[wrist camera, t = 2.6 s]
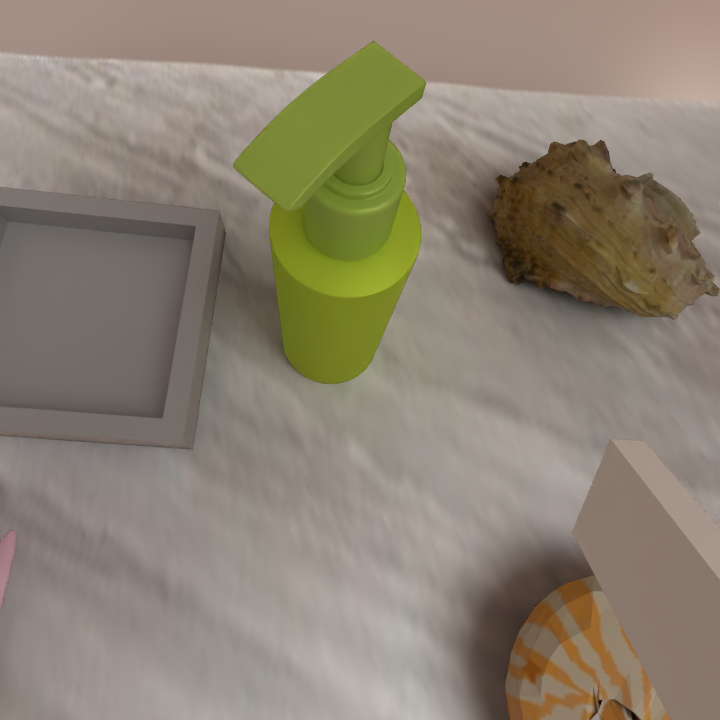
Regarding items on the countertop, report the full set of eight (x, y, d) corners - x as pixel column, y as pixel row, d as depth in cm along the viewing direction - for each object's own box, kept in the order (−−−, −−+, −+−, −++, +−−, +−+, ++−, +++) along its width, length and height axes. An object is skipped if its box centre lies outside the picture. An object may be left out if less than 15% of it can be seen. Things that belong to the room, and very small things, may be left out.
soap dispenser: (250, 352, 31) (168, 101, 12) (327, 278, 33) (357, -37, 14) (321, 416, 31) (349, 254, 12) (395, 336, 33) (522, 88, 14)
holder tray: (225, 233, 34) (219, 210, 31) (192, 449, 29) (182, 442, 27) (-1, 209, 32) (-26, 184, 30) (-68, 430, 28) (-103, 422, 26)
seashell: (638, 370, 35) (781, 321, 26) (449, 279, 34) (528, 192, 25) (666, 242, 39) (801, 158, 30) (497, 155, 38) (581, 39, 28)
